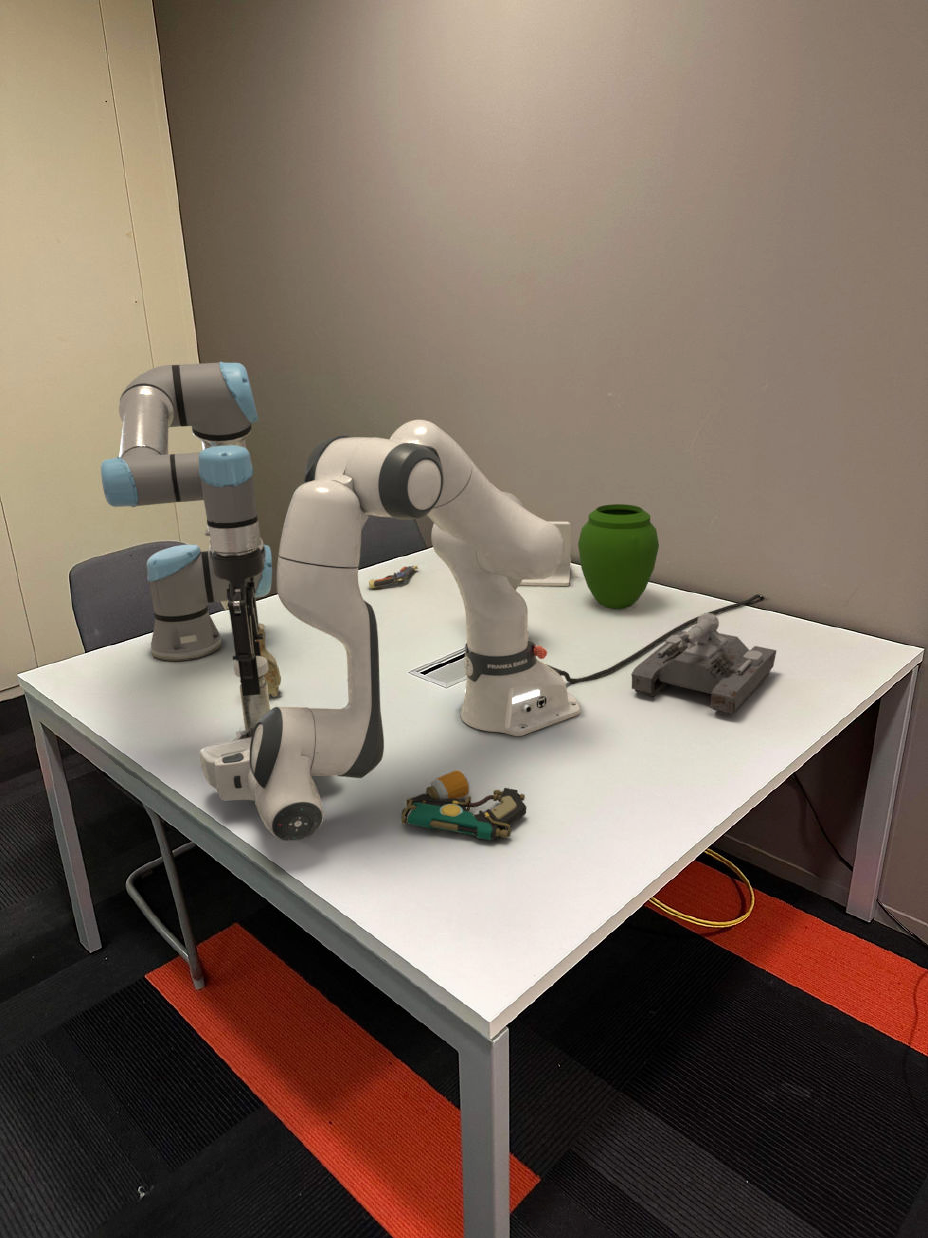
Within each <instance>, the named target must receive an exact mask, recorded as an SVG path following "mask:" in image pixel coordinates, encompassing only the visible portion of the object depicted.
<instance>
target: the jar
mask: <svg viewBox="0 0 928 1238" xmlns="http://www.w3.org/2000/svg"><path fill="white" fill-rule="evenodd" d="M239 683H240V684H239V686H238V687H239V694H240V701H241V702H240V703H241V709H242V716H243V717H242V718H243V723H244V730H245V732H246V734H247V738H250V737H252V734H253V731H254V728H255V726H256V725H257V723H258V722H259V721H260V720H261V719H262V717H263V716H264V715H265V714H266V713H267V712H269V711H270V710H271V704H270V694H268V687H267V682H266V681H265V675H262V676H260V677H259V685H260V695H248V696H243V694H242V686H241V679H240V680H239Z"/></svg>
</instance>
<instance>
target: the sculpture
mask: <svg viewBox="0 0 928 1238" xmlns="http://www.w3.org/2000/svg"><path fill="white" fill-rule="evenodd" d="M259 627H260V631H259V632H258V634H263V640H256V641H259V643H260V651H261V657H264V658H266V659H267V662H268V668H269V670H268V672H267V673H266V674H264V675H265V681H266V682H267V687H268V695H270V696H271V697H272V698H274V697H277V696H278V695H279V690H280V686H281V684H282V676H281V672H280V668H279V666H278V662H277V659H276V658H275V657H274V655H273V654H272V653H271V652H269V651H268V649H267V646H266V631H265V628H266V627H265V624H264V623H259Z"/></svg>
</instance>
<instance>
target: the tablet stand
mask: <svg viewBox="0 0 928 1238" xmlns="http://www.w3.org/2000/svg"><path fill="white" fill-rule="evenodd" d="M548 522H549V523H552V524H554V525H555V526H556V527H557V528H558V529H559V531H560V533H561V535H562V538H563V542H564V554H563V558H562V561H561V563H560V565H559V567H558V568H557V570H556V571H555V572H554V573H553V574H552V575H551V576H550V577H548V578H546V579H536V580H522V581H521V582H520V584H519V586H541V587H542V586H543V587H544V586H545V587H546V586H547V587H549V586H551V587H556V586H557V587H569V586H570V580H571V579H570V578H571V565H572V564H571V560H572V558H571V522H569V521H548Z"/></svg>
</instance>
